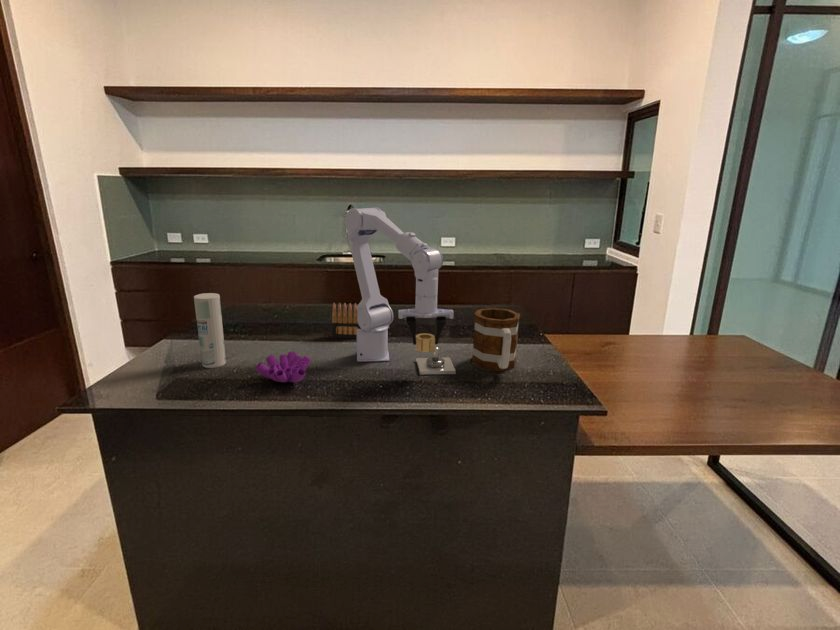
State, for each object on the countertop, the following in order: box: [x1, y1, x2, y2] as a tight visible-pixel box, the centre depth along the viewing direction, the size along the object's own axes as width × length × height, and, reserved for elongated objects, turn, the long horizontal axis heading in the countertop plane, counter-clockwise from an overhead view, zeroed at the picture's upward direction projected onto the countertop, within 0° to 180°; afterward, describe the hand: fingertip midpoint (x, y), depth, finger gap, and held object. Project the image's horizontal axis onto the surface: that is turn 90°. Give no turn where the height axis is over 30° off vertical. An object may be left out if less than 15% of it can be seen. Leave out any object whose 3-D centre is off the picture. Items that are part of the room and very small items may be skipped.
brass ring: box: [414, 332, 436, 353], centre depth 127 cm, size 5×5×4 cm
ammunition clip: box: [331, 302, 361, 339], centre depth 157 cm, size 11×2×12 cm, turn 89°
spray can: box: [193, 292, 227, 369], centre depth 131 cm, size 6×6×20 cm
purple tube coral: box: [254, 351, 312, 383], centre depth 124 cm, size 11×15×10 cm
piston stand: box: [415, 346, 457, 376], centre depth 134 cm, size 10×10×6 cm
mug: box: [471, 307, 521, 372], centre depth 135 cm, size 20×14×15 cm
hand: (425, 343), depth 127 cm, fingers closed on brass ring, 5 cm apart
